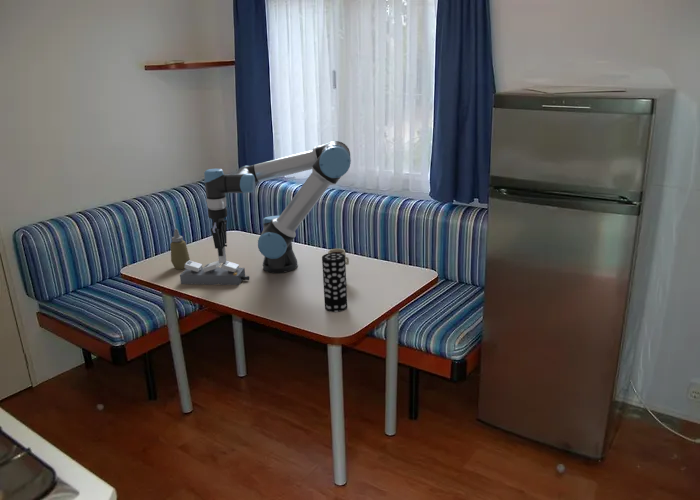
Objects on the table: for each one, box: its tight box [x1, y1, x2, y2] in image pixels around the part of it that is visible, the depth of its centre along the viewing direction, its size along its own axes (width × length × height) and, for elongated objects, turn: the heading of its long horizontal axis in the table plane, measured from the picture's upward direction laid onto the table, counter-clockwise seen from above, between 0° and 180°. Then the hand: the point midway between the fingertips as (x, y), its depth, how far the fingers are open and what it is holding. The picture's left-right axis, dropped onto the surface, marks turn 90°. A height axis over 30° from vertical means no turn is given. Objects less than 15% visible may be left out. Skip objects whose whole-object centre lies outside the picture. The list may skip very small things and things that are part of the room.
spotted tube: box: [321, 252, 348, 313], centre depth 213 cm, size 8×8×20 cm
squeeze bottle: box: [170, 228, 191, 270], centre depth 259 cm, size 8×8×18 cm
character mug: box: [327, 248, 350, 266], centre depth 238 cm, size 11×7×13 cm, turn 60°
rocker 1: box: [184, 259, 204, 272], centre depth 245 cm, size 6×5×2 cm
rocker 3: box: [220, 260, 240, 272], centre depth 243 cm, size 6×5×2 cm
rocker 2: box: [203, 260, 222, 272], centre depth 244 cm, size 6×5×2 cm
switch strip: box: [179, 266, 250, 286], centre depth 245 cm, size 28×9×5 cm, turn 83°
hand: (222, 262), depth 243 cm, fingers closed
